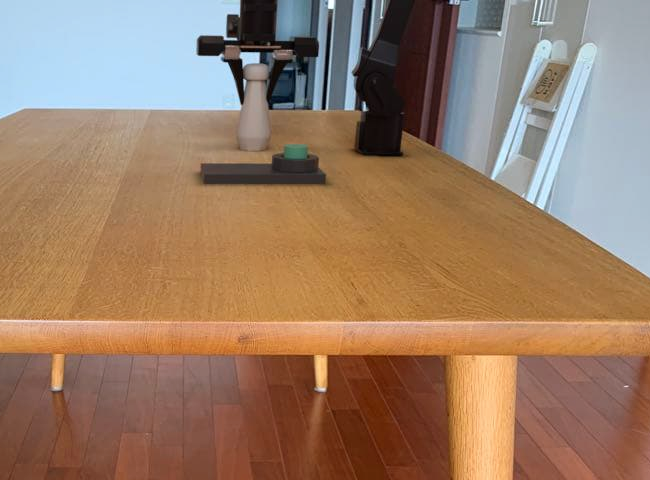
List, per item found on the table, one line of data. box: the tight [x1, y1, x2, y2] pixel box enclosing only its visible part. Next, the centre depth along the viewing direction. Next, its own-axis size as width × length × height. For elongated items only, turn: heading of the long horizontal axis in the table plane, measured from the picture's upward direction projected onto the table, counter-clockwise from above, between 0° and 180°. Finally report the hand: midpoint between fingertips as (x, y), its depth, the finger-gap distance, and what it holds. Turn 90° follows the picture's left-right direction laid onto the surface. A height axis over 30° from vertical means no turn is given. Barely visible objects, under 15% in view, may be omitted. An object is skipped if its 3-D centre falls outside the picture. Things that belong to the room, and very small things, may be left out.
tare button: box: [283, 143, 309, 159], centre depth 108 cm, size 3×3×2 cm
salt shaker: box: [235, 62, 272, 152], centre depth 130 cm, size 6×6×13 cm
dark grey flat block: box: [200, 152, 327, 185], centre depth 109 cm, size 16×8×3 cm, turn 93°
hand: (254, 105), depth 130 cm, fingers open, 4 cm apart
